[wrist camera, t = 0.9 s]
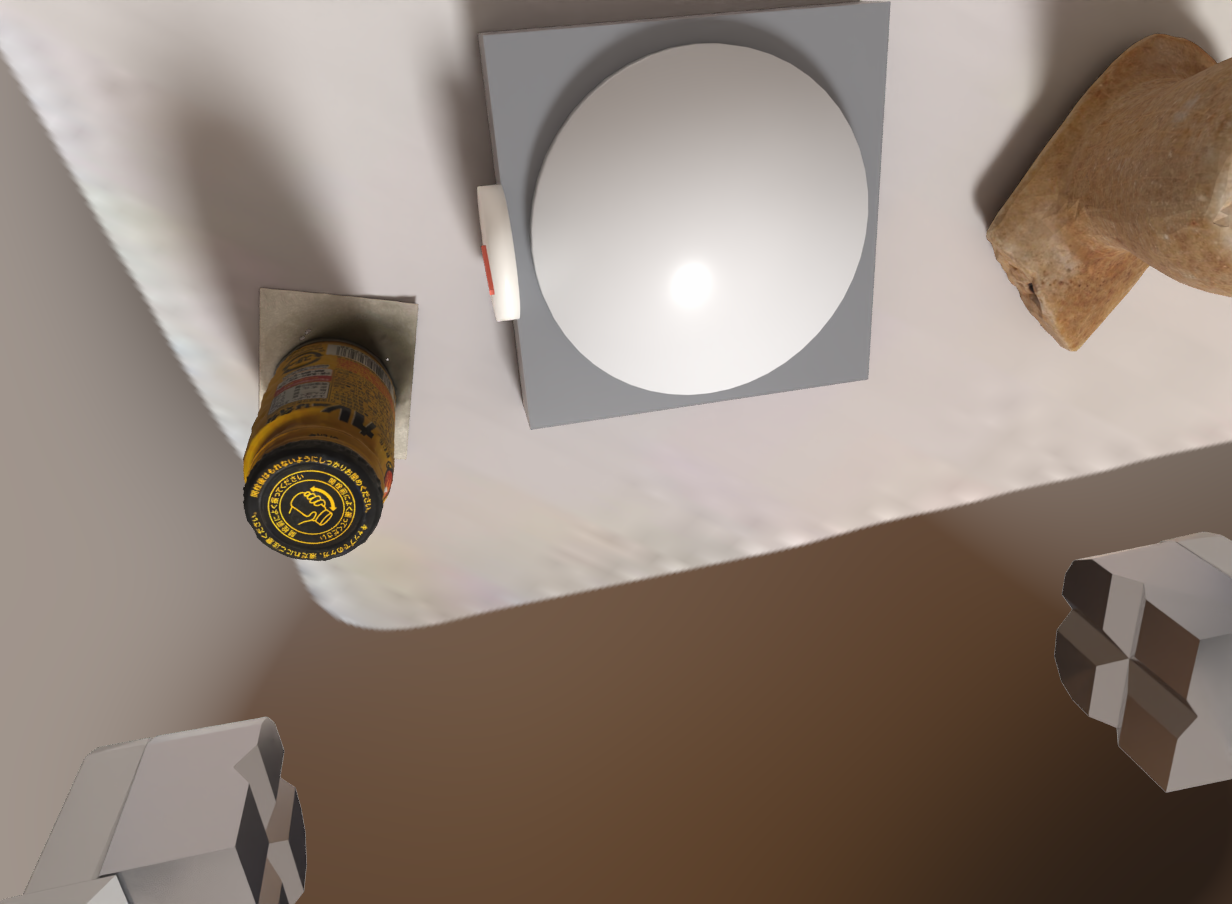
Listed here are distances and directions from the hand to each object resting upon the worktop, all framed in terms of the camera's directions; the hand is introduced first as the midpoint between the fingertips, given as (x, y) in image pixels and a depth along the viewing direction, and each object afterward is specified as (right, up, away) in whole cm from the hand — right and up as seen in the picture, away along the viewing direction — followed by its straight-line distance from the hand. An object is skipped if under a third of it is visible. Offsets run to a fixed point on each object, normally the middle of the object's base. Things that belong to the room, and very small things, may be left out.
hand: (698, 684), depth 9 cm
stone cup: (+24, +17, +41) cm, 50 cm away
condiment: (-15, +6, +37) cm, 40 cm away
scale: (+2, +14, +37) cm, 40 cm away
